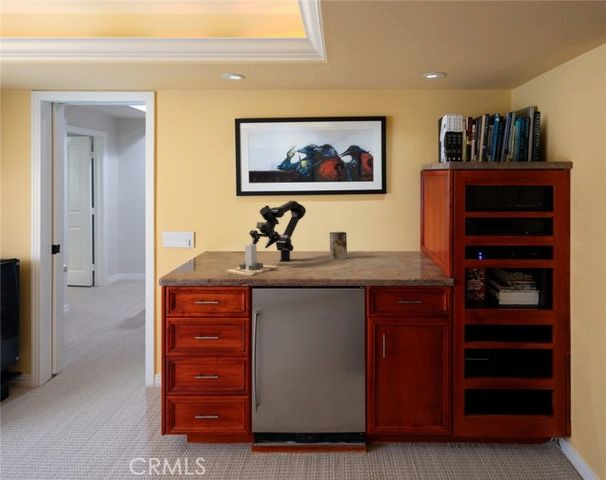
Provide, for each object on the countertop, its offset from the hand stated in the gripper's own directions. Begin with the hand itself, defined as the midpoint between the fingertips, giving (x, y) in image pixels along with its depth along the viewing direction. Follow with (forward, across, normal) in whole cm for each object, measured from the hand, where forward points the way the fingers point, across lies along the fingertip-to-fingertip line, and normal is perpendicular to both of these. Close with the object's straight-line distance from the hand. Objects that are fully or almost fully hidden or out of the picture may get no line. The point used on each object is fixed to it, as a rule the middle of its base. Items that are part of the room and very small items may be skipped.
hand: (258, 247), depth 265 cm
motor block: (+13, 0, +2) cm, 13 cm away
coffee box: (-25, +25, +42) cm, 55 cm away
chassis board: (+14, 0, +3) cm, 14 cm away
